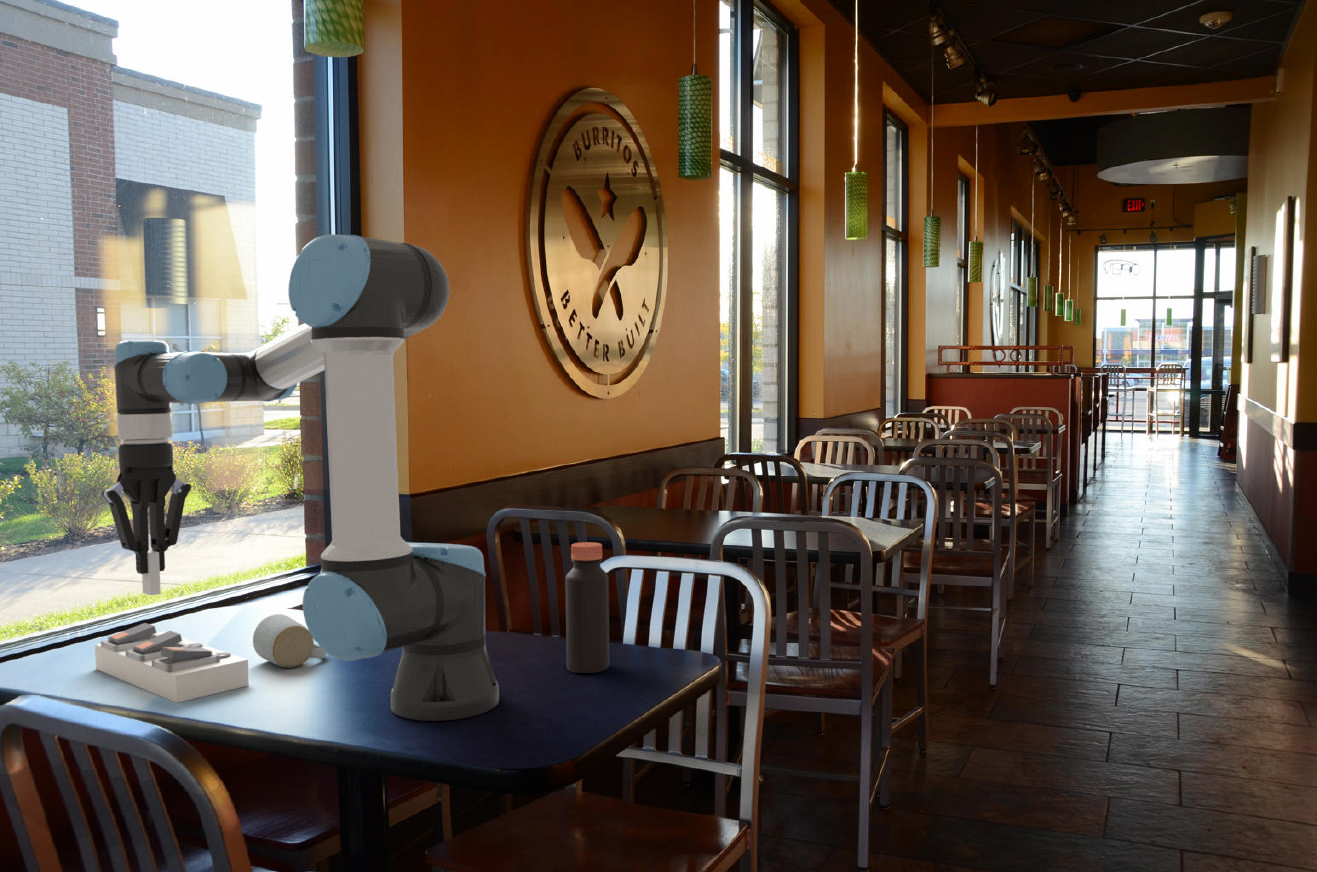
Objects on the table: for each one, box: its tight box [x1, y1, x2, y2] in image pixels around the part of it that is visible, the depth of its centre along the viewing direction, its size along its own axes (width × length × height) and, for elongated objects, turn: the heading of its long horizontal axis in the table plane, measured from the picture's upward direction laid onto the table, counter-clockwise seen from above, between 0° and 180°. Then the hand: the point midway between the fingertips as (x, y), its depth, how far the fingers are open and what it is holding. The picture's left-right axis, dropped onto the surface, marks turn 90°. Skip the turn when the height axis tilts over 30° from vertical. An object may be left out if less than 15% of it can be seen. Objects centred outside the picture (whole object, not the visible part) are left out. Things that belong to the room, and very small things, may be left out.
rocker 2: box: [161, 647, 212, 659], centre depth 158 cm, size 4×6×1 cm, turn 140°
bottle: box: [565, 541, 610, 674], centre depth 168 cm, size 7×7×20 cm
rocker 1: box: [107, 622, 157, 645], centre depth 170 cm, size 4×6×1 cm, turn 139°
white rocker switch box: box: [94, 631, 250, 704], centre depth 165 cm, size 28×11×5 cm, turn 50°
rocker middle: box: [133, 630, 183, 655], centre depth 164 cm, size 4×6×1 cm, turn 140°
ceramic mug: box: [252, 613, 327, 669], centre depth 173 cm, size 11×8×8 cm
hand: (151, 593), depth 163 cm, fingers closed
